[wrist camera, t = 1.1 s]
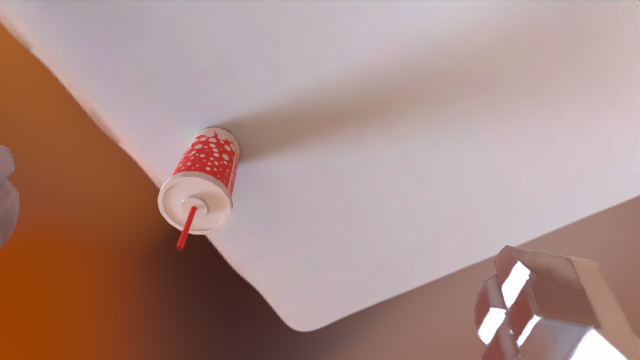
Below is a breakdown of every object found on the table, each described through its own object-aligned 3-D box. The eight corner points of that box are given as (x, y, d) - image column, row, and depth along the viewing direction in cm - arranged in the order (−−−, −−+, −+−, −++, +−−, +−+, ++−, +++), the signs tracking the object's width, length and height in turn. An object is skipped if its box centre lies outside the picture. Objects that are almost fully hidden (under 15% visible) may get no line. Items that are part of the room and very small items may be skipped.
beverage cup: (173, 126, 53) (124, 224, 41) (235, 114, 52) (202, 210, 40) (197, 179, 56) (158, 282, 45) (256, 168, 55) (231, 271, 44)
